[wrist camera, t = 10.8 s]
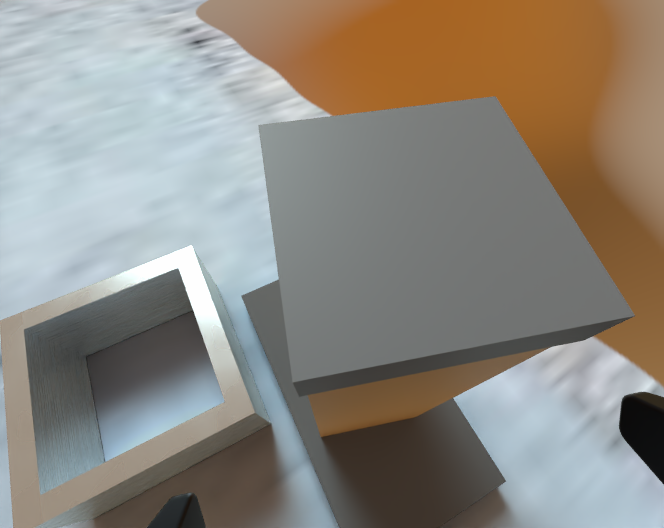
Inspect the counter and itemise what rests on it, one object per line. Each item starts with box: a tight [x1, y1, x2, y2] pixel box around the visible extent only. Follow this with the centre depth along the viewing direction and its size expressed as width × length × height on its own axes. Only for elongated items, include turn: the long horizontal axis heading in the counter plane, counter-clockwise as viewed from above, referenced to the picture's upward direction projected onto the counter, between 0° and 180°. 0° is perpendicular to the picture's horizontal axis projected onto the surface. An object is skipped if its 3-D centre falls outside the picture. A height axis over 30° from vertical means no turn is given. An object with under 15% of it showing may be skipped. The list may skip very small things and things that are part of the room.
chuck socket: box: [0, 246, 271, 528], centre depth 15 cm, size 8×8×4 cm
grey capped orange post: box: [259, 97, 635, 437], centre depth 10 cm, size 4×4×12 cm
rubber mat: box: [242, 280, 506, 528], centre depth 16 cm, size 12×6×1 cm, turn 27°
